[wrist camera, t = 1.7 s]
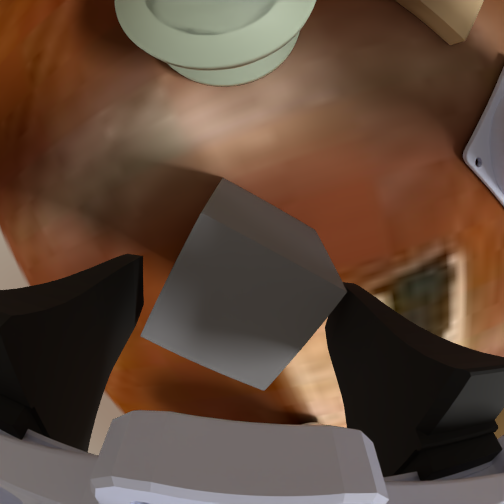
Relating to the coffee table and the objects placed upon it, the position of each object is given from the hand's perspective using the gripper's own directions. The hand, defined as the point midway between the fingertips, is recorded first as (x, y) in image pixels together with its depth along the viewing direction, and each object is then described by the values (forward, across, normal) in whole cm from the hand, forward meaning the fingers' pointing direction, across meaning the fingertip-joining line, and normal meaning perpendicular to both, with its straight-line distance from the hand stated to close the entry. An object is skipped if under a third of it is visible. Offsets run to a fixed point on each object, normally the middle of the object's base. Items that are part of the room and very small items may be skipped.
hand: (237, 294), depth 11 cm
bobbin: (+4, +2, -11) cm, 12 cm away
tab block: (+4, 0, 0) cm, 5 cm away
